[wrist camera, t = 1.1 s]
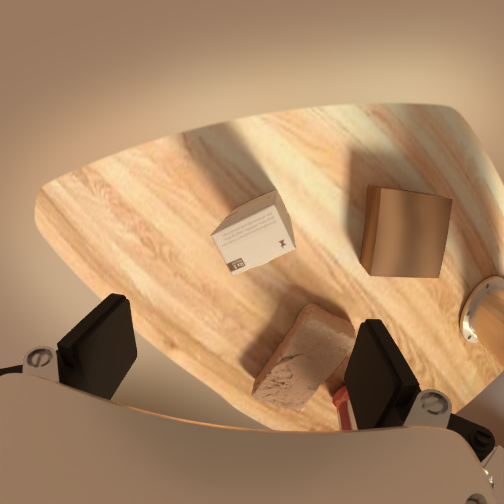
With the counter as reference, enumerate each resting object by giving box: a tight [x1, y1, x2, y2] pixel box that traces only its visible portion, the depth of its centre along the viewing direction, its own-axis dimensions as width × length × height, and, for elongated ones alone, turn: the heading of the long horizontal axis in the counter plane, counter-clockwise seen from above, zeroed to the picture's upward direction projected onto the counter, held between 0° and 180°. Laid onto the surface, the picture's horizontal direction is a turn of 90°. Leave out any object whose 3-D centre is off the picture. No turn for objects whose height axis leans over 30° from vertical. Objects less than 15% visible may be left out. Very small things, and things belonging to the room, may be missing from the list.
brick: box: [252, 303, 356, 412], centre depth 37 cm, size 17×8×5 cm, turn 154°
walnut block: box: [360, 186, 452, 278], centre depth 31 cm, size 10×10×5 cm
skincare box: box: [211, 190, 296, 276], centre depth 28 cm, size 6×4×12 cm
